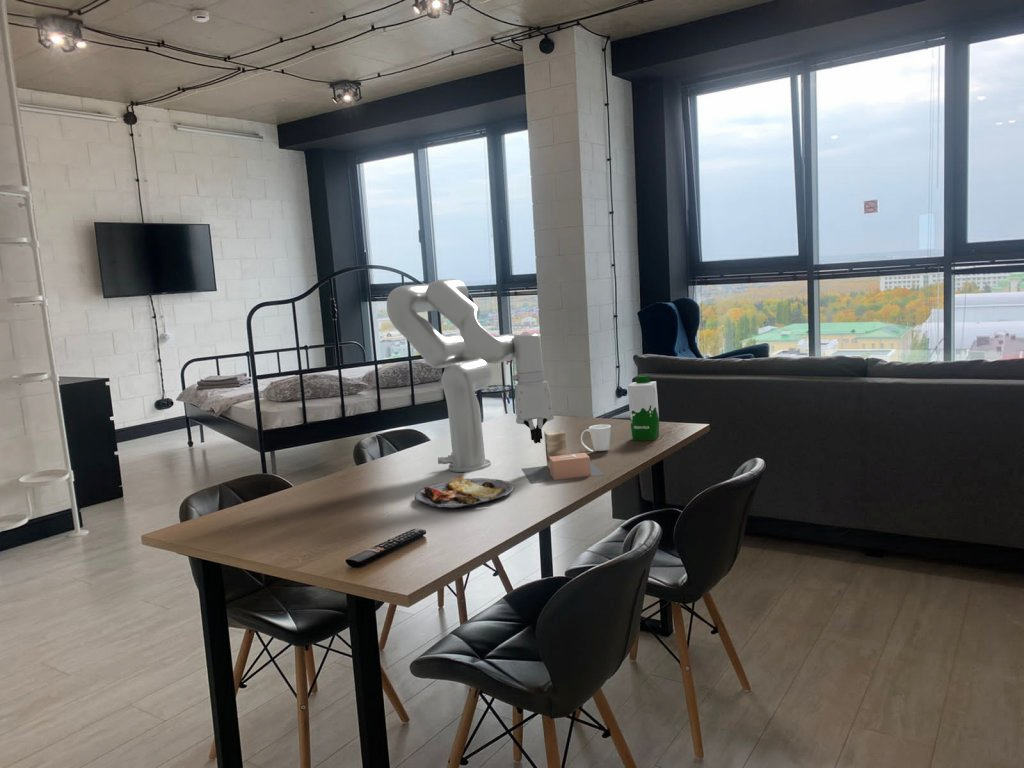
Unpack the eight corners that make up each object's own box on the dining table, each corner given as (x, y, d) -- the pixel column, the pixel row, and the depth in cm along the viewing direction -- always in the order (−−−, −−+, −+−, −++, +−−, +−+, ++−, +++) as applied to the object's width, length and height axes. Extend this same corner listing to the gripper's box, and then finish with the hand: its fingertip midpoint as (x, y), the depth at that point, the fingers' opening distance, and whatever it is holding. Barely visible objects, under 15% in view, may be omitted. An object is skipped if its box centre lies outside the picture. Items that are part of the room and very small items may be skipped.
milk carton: (662, 435, 250) (658, 374, 248) (656, 441, 242) (651, 378, 240) (635, 435, 254) (631, 375, 251) (629, 441, 246) (624, 379, 243)
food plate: (399, 500, 199) (398, 487, 198) (471, 481, 213) (470, 468, 213) (456, 520, 179) (454, 505, 179) (530, 497, 194) (529, 483, 194)
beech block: (550, 470, 215) (547, 435, 214) (546, 465, 221) (543, 431, 220) (568, 468, 216) (565, 433, 214) (564, 463, 221) (561, 429, 220)
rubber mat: (531, 485, 202) (530, 483, 202) (521, 470, 220) (521, 468, 220) (604, 476, 205) (604, 474, 205) (589, 461, 222) (589, 460, 222)
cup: (608, 455, 228) (606, 428, 227) (577, 454, 233) (575, 428, 232) (616, 450, 235) (614, 424, 234) (586, 449, 239) (584, 424, 238)
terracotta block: (552, 460, 203) (589, 456, 205) (548, 456, 209) (584, 452, 210) (554, 479, 204) (591, 475, 205) (550, 474, 210) (586, 470, 211)
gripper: (505, 382, 210) (512, 448, 212) (559, 376, 211) (565, 441, 214) (502, 379, 217) (509, 443, 219) (554, 373, 219) (560, 436, 221)
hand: (537, 442), depth 216 cm, fingers closed
